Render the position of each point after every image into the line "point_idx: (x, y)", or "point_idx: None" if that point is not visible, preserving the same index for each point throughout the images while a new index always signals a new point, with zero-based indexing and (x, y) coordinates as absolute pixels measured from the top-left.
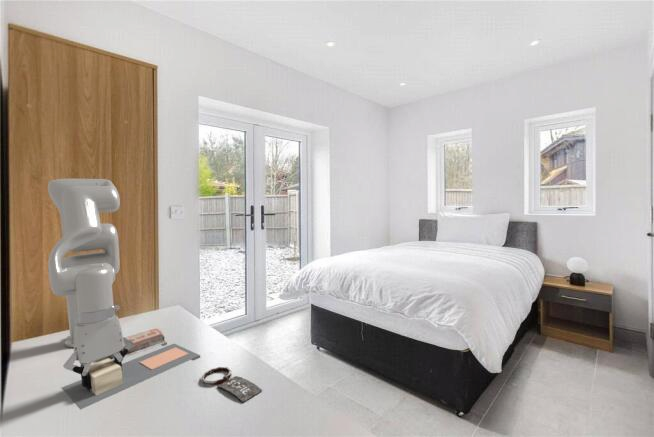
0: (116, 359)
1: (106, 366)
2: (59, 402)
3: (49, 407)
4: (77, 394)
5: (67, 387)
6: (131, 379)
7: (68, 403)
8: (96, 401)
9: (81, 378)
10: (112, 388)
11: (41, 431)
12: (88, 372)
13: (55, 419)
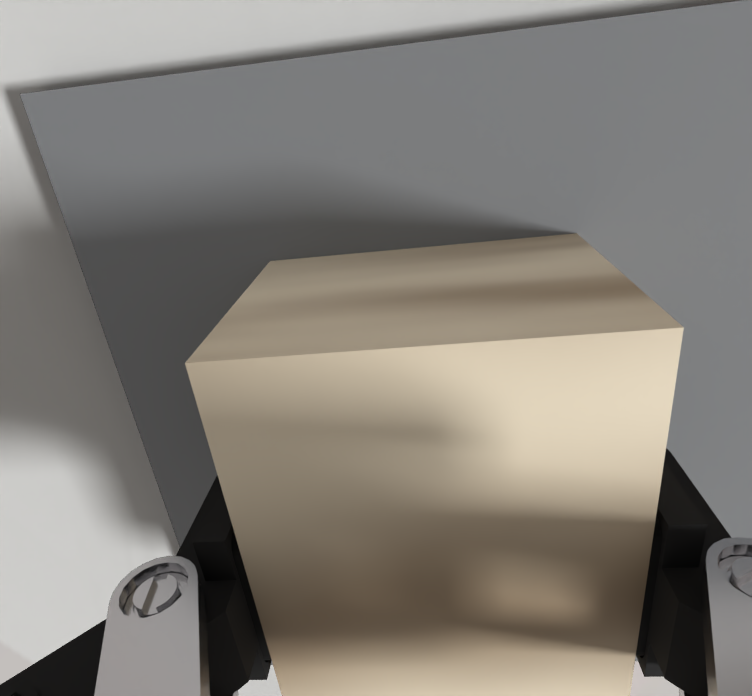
0: (685, 671)
1: (498, 630)
2: (70, 396)
3: (4, 414)
4: (201, 444)
5: (93, 168)
6: None
7: (144, 475)
8: None
9: (192, 523)
10: None
11: (30, 660)
12: (252, 660)
13: (84, 608)
